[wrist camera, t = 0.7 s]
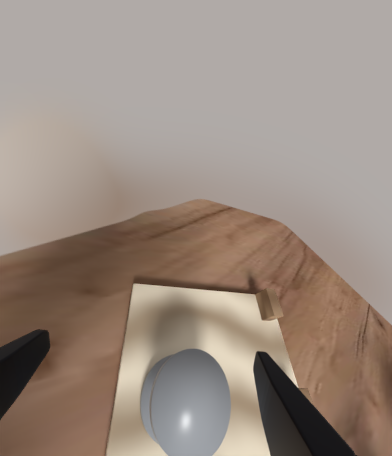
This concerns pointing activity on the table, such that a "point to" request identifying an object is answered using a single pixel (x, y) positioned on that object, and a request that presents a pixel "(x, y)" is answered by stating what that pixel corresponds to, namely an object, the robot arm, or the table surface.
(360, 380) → the table surface
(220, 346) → the board
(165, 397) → the grey rounded knob
